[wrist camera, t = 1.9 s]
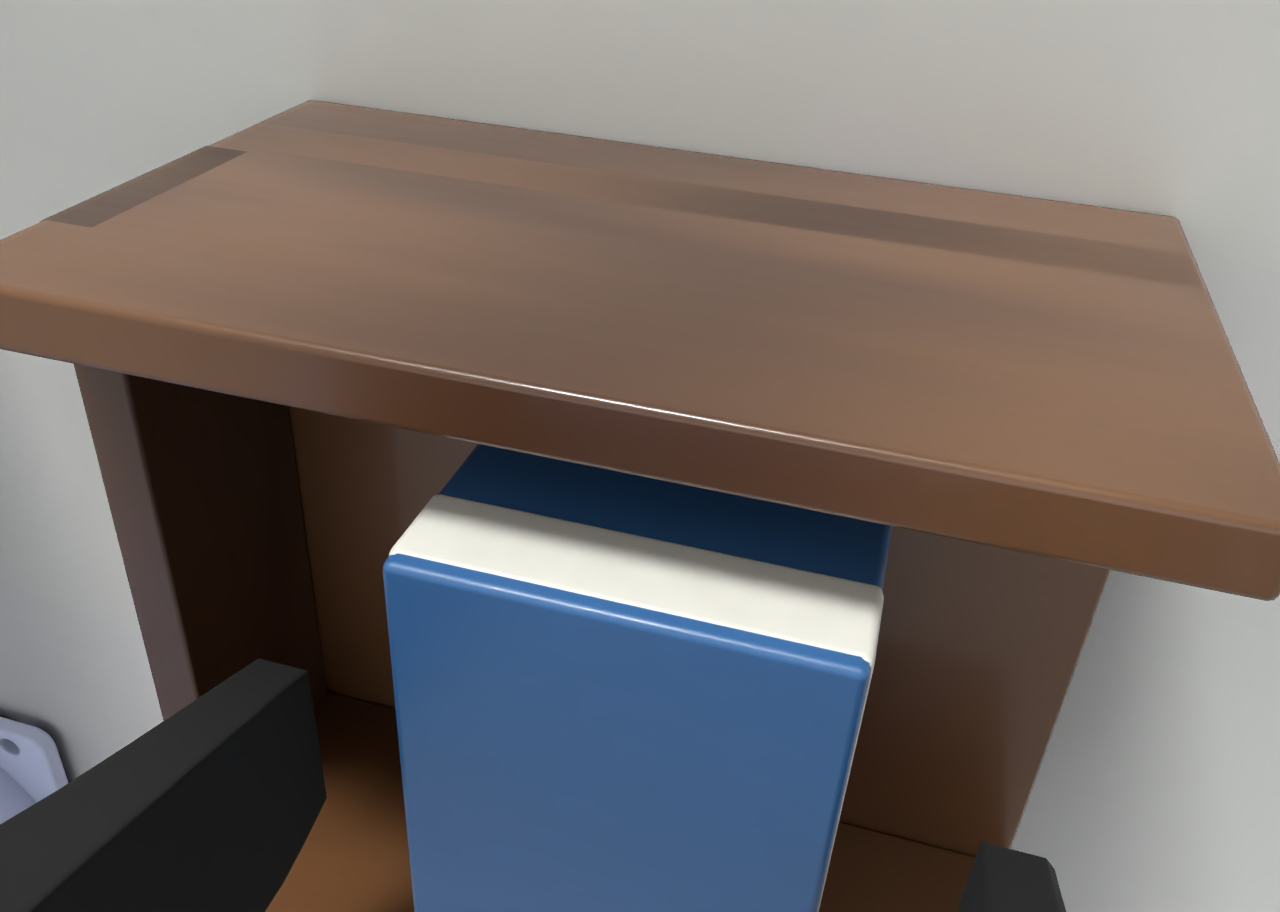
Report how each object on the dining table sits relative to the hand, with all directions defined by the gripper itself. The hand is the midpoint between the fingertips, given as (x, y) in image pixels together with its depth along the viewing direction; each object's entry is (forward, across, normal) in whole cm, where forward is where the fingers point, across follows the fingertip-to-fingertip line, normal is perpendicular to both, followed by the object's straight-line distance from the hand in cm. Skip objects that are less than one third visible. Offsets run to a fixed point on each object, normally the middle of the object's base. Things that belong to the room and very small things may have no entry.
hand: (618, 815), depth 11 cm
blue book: (+4, 0, 0) cm, 4 cm away
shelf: (+7, +1, +5) cm, 8 cm away
